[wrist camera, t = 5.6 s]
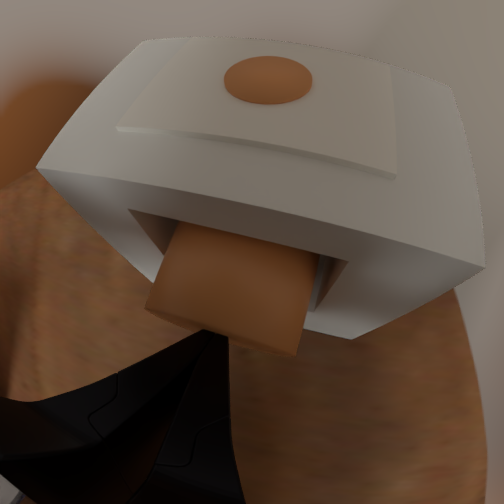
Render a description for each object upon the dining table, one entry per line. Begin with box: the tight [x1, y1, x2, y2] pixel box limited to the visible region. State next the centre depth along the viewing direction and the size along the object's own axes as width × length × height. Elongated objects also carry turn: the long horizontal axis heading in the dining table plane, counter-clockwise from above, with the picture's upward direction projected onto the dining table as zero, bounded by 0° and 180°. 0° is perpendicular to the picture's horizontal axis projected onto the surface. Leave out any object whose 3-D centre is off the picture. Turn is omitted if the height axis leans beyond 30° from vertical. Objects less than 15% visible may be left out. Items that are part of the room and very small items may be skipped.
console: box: [36, 37, 486, 340], centre depth 13 cm, size 7×12×12 cm, turn 74°
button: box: [144, 220, 320, 357], centre depth 10 cm, size 4×5×5 cm
